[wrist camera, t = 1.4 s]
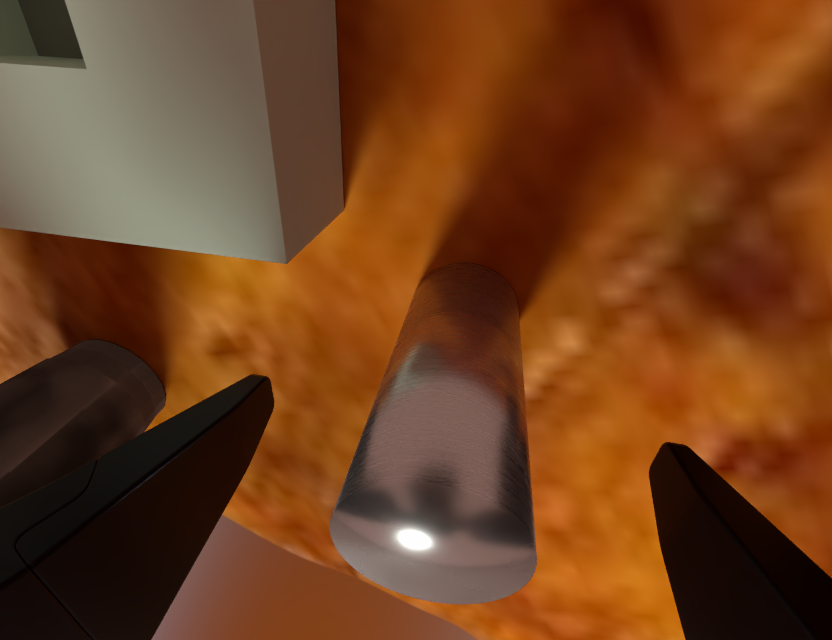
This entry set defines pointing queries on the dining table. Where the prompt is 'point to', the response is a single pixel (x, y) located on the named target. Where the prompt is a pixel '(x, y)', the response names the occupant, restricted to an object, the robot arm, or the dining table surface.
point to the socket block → (172, 122)
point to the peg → (446, 451)
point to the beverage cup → (72, 413)
